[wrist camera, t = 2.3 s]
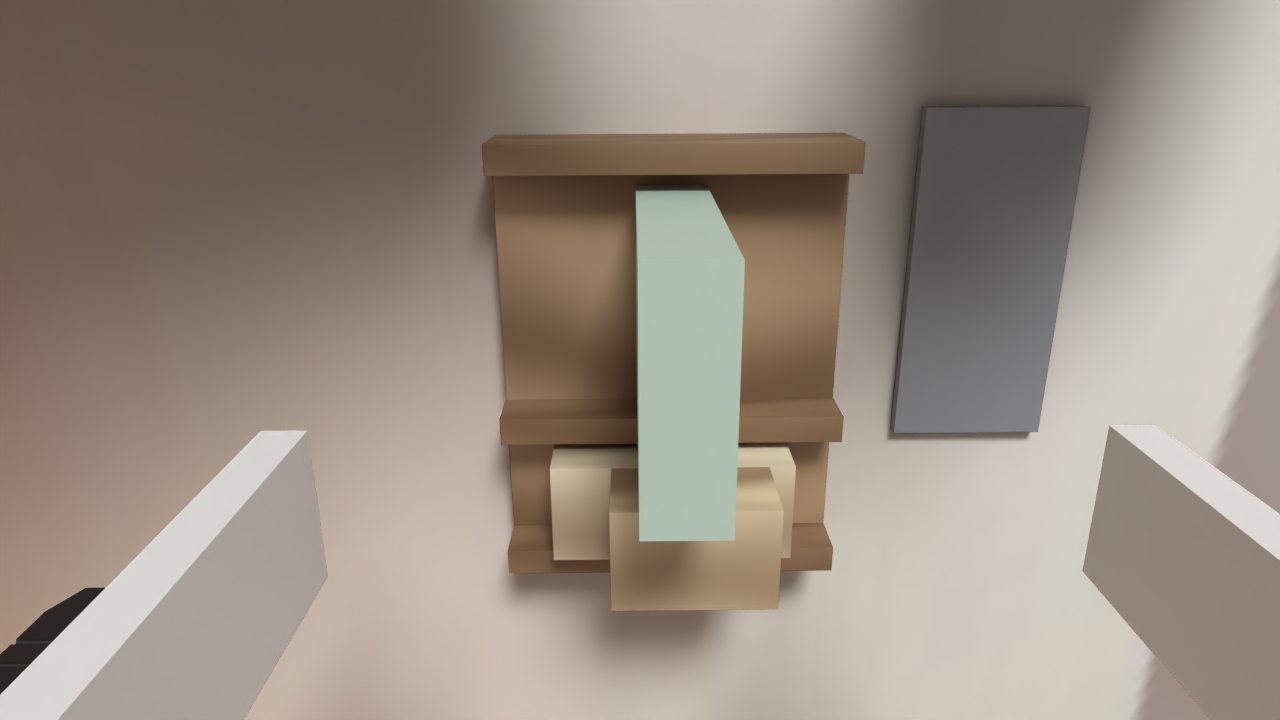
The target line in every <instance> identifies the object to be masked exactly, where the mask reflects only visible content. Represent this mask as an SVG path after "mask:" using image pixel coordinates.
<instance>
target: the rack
mask: <svg viewBox="0 0 1280 720" xmlns="http://www.w3.org/2000/svg"><path fill="white" fill-rule="evenodd" d="M864 154H865V142H863V141H861V140H859V139H856V138H854V137H852V136H850V135H847V134H845V133H746V134H581V135H495V136H494V137H492V138H491V139H489V140H488V141H487V142H485V143H484V144H482V155H483V171H484V176H493V188H494V204H495V221H496V237H497V253H498V270H499V286H500V303H501V319H502V335H503V352H504V368H505V384H506V403H505V405H504V408H503V411H502V414H501V417H500V434H501V445H509V450H510V466H511V482H512V499H513V515H514V528H513V532H512V537H511V541H510V545H509V549H508V558H509V573H593V572H610V560H554V553H553V530H552V508H551V485H550V465H551V460H552V455H553V449H554V444H638V420H637V315H636V185H707V186H708V188H709V190H710V192H711V194H712V196H713V198H714V200H715V202H716V204H717V206H718V208H719V210H720V212H721V214H722V216H723V218H724V220H725V222H726V224H727V226H728V228H729V230H730V232H731V234H732V236H733V238H734V240H735V242H736V243H737V245H738V247H739V249H740V251H741V253H742V255H743V257H744V259H745V273H744V301H743V328H742V356H741V384H740V411H739V439H738V443H763V442H787V445H788V448H789V450H790V453H791V455H792V458H793V461H794V463H795V466H796V473H795V490H794V506H793V522H792V539H791V555H790V558H781V567H780V571H810V570H831V567H832V554H833V547H832V544H831V542H830V539H829V537H828V534H827V532H826V529H825V526H824V524H823V518H824V505H825V491H826V478H827V464H828V451H829V442H842V429H843V415H842V413H841V412H840V410H839V408H838V406H837V404H836V403H835V401H834V399H833V384H834V371H835V357H836V344H837V331H838V317H839V304H840V291H841V277H842V264H843V250H844V237H845V224H846V210H847V197H848V184H849V174H863V167H864Z"/></svg>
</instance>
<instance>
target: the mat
mask: <svg viewBox="0 0 1280 720" xmlns="http://www.w3.org/2000/svg"><path fill="white" fill-rule="evenodd" d="M1089 114H1090V107H1085V106H1043V107H923V110H922V120H921V130H920V140H919V150H918V160H917V170H916V180H915V190H914V200H913V210H912V220H911V230H910V240H909V250H908V260H907V270H906V280H905V290H904V300H903V310H902V320H901V330H900V340H899V350H898V359H897V369H896V379H895V389H894V399H893V409H892V419H891V429H892V431H893V432H894V433H957V432H1038V427H1039V421H1040V415H1041V409H1042V403H1043V396H1044V390H1045V384H1046V378H1047V372H1048V366H1049V360H1050V353H1051V347H1052V341H1053V335H1054V329H1055V323H1056V317H1057V310H1058V304H1059V298H1060V292H1061V286H1062V280H1063V273H1064V267H1065V261H1066V255H1067V249H1068V243H1069V237H1070V230H1071V224H1072V218H1073V212H1074V206H1075V200H1076V194H1077V187H1078V181H1079V175H1080V169H1081V163H1082V157H1083V150H1084V144H1085V138H1086V132H1087V126H1088V120H1089Z"/></svg>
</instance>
